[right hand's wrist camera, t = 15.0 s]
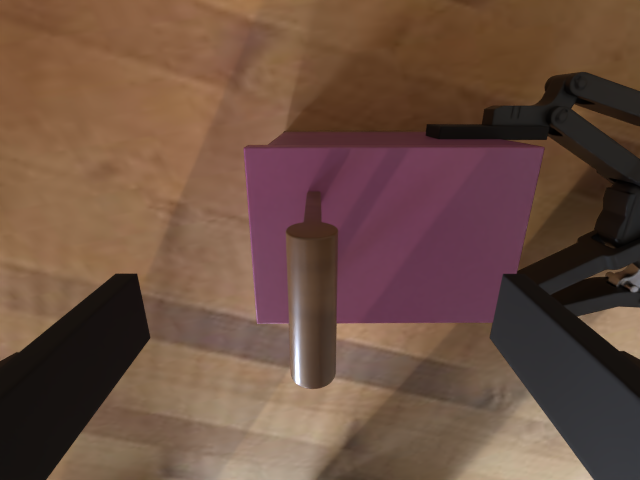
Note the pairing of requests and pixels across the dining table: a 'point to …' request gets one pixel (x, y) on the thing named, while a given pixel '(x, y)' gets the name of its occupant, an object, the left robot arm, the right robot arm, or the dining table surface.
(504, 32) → the dining table surface
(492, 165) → the lid
